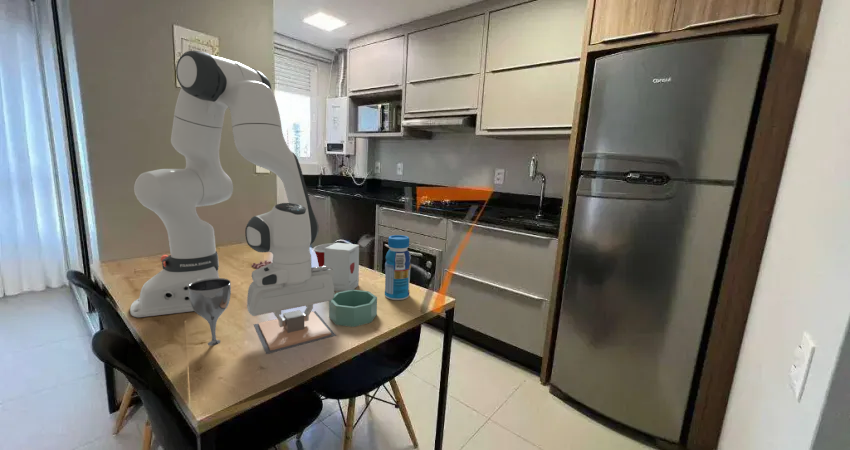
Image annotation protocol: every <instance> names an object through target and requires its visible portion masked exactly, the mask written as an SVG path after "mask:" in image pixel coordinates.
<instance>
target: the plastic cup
mask: <svg viewBox="0 0 850 450" xmlns="http://www.w3.org/2000/svg"><path fill="white" fill-rule="evenodd" d="M335 243H336V242H332V243H330V242H329V243H323V244H319V245H315V246H314V247H313V248H312V249H313V251H314V252H315V256H316V259H317V264H318V267H323V266H324V248H326V247H328V246H330V245H333V244H335Z"/></svg>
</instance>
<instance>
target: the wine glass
mask: <svg viewBox="0 0 850 450" xmlns="http://www.w3.org/2000/svg"><path fill="white" fill-rule="evenodd" d="M188 289H189V298H190V302H191V305H192V307H193V309H194V311H193V312H195V313H196V314H197V315H198V316H199V317H201V318H203V319H204V320H205V321H206V322H207V323H208V325H209V327H210V332H211V340H210V341H209V342H208V343H207V345H208V346H210V347H211V346H213V347H214V346H216V345H219V344H220V343H221V340H220V339H217V335H216V334H217V333H216V329H217V322H218V320H219V318H220V317H221V316H222V315H223V313H224V312H225V311H226V309H228V307H229V305H230V300H231V294H232V293H231V292H232V290H231V289H232V287H231V280H230V279H227V278H222V277H219V278H211V279H204V280H200V281H197V282H194V283H192V284H190V285H189V287H188Z"/></svg>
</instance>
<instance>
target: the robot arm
mask: <svg viewBox="0 0 850 450" xmlns="http://www.w3.org/2000/svg"><path fill="white" fill-rule="evenodd" d="M175 74H176V78H177V79H176V80H177V82H178V83H179V86H180V90H179V93H178V95H177V99H176V103H175V107H174V111H173V112H174V113H173V121H172V127H171V134H170V135H171V136H170V143H171V146H172V147H173V148H174V149H175V151H176V152H177V153H179V154H180V155H182V157H183V156H184V159H185V167H184V168H160V169H154V170H149V171H144V172H142V173H140V174H139V175H138V177H137V178H136V180H135V182H134V184H133V190H134V191H133V192H134V195H135V197H136V199H137V201H138V202H139V203H140V204H141V205H142V206H143V207H145V208H146V209H148V210H150V211H152V212H153V213H155V214H156V215H157V216H158V217H159V219H160V220H161V222H162V223H163V225H164V227H165V229H166V232H167V237H168V243H169V252H170V253H169V255H168V254H162V255H161V256H160V261H161V266H162V269H161V271H158V273H156V274H155V275H153V276H152V277H151V278H149V279H148V280H147V281H146V282H144V283H143V286H142V287H141V289H140V293H139V297H138V298H137V299H135V300H134V301H133V302H132V303H131V305H130V307H129V308H130V309H129V312H130V313H129V314H130V315H131V316H132V317H134V318H146V317H154V316H161V315H162V316H163V315H172V314H181V313H187V312H188V313H189V312H190V313H191V312H195V311H194V309H193V307H192V305H191V302H190V298H189V289H188V287H189V285H190V284H192V283H194V282H197V281H200V280H204V279H211V278H220V275H219V268H220V265H219V264H220V263H219V261H220V260H219V255H218V251H216V236H215V228H214V227H213V225H212V224H210V223H209V222H208V221H206V220H204V219H201V217H200V216H199V214H198V213H197V207H207V206H213V205H216V204H219V203H223V202H226V201H228V200H229V199H231V197H232V195H233V192H234V184H233V181H232V179H231V177H230V176H229V175H228V174H227V173H226V172H225V170H224V169H223V167H222V163H221V159H220V148H221V141H222V140H221V139H222V134H223V133H222V132H223V127H224V121H225V113H226V111H227V110H228V109H229V112H230V119H231V128H232V137H233V141H234V145H235V148H236V150H237V152H238V153H239V155H241V156H242V158H244V159H245V160H246V161H247V162H250V163H251V164H253V165H255V166H258V167H260V168H262V169H265V170H267V171H269V172H271V173H273V174H275V176H277V177H278V178H279V179H280V181H282V184H283V186H284V190H285V194H286V198H287V201H288V202H281V203H277V204H275V205H273V207H272V208H271V210H269V211H268V212H265V213H262V214H258V215H253V216H252V217H251V218H250V219H249V221H248V222H247V224H246V226H245V240H246V243H247V245H248V246H249V247H250V248H251V249H252V250H254V252H255V251H256V252H257V253H271V254H272V260H271V262H272V263H271V264H268V265H266V266H264V267H261V268H259V269H254V270H253V271H251V280H252V282H251V283H250V284H249V287H248V290H247V299H246V301H247V302H246V303H247V304H246V307H247V311H248V313H249V315H251V316H252V317H257V316H261V315H266V314H273V315H274V316H275V318H276V319H278V322H279V326H280V327H283V326H286V319H285V317H283V316H282V317H281V315H282V311H287V310H291V309H296V308H301V307H305V310H304V312H302V314H303V315H304V322H305V321H309V314H310V312H312V310H314V305H315V304H321V303H326V302H329V301H331V300H332V299H333V298H334V295H335V291H334V285H333V278H334V270H333V269H332V268H331V267H328V266H323V267H319V266H315V267H314V266H313V267H312V254H311V250H310V247H311V245H312V244H313V243H314V242H315V241H316V239H317V237H318V235H319V231H320V227H319V226H320V225H319V223H318V219H317V217H316V215H315V213H314V210H313V207H312V205H311V201H310V198H309V197H310V196H309V193H308V189H307V185H306V182H305V178H304V174H303V171H302V168H301V164H300V162H299V159H298V157H297V155H296V153H294V152H293V151H292V150H291V148H289V146H288V144H287V141H286V140H285V136H284V133H283V129H282V122H281V121H282V120H281V115H280V111H279V108H278V104H277V101H276V98H275V95H274V92H273V90H272V84H271V82H270V79H269V78H268V77H267V76H266V75H265V74H263V73H262V72H261V71H259V70H257V69H255V68H254V67H249V66H248V65H245V64H243V63H241V62H239V61H235V60H234V59H233V60H232V59H231V58H230V59H228V58H224V57H221V56H216V55H212V54H209V53H208V52H207V51H206V52H205V51H199V50H187V51H185V52H184V53H182V55H180V57H179V58H178V60H177V63H176V68H175Z"/></svg>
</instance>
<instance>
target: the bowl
mask: <svg viewBox="0 0 850 450" xmlns="http://www.w3.org/2000/svg"><path fill="white" fill-rule="evenodd" d="M328 310H329V311H328V313H329V314H328V315H329V317H328V318H329V319H330V320H331V321H332V322H333V324H335V326H345V327H351V328H352V327H353V328H355V327H358V326H363V325H367V324H370V323H372V322H373V320H374V319H375V317H376V316H377V315H378V314H377V313H378V297H377V296H376V295H375V294H374V293H372V292H371V291H368V290H360V289H358V290H357V289H354V290H348V291H343V292H342V291H337V292H336V293H334V298H333V299H332V300H331V301H328Z"/></svg>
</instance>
